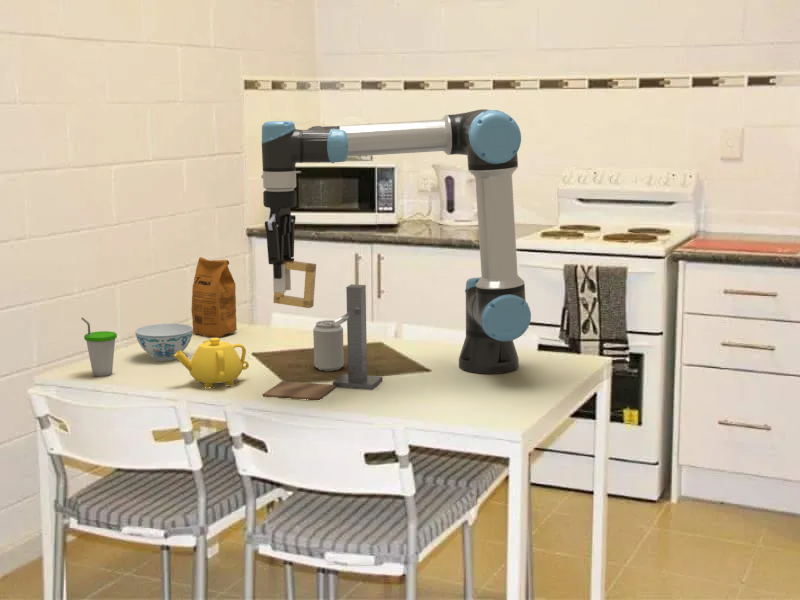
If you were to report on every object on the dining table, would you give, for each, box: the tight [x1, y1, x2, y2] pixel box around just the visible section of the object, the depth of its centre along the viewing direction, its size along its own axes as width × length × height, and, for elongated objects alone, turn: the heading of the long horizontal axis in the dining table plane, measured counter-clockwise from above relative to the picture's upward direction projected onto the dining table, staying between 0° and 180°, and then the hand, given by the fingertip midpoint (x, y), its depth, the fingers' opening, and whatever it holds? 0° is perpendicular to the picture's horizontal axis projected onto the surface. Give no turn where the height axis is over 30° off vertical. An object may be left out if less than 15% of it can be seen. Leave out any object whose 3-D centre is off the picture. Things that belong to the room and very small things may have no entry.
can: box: [312, 319, 345, 372], centre depth 293 cm, size 8×8×12 cm
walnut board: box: [261, 380, 338, 401], centre depth 272 cm, size 14×12×1 cm
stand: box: [331, 283, 384, 391], centre depth 270 cm, size 10×20×24 cm, turn 164°
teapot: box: [174, 337, 250, 389], centre depth 280 cm, size 14×14×11 cm
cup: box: [81, 316, 118, 378], centre depth 288 cm, size 8×8×15 cm
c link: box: [273, 259, 317, 309], centre depth 267 cm, size 9×2×10 cm, turn 74°
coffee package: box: [190, 256, 238, 338], centre depth 333 cm, size 10×12×22 cm
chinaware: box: [134, 322, 193, 362], centre depth 306 cm, size 15×15×8 cm
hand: (282, 290), depth 268 cm, fingers closed on c link, 2 cm apart
